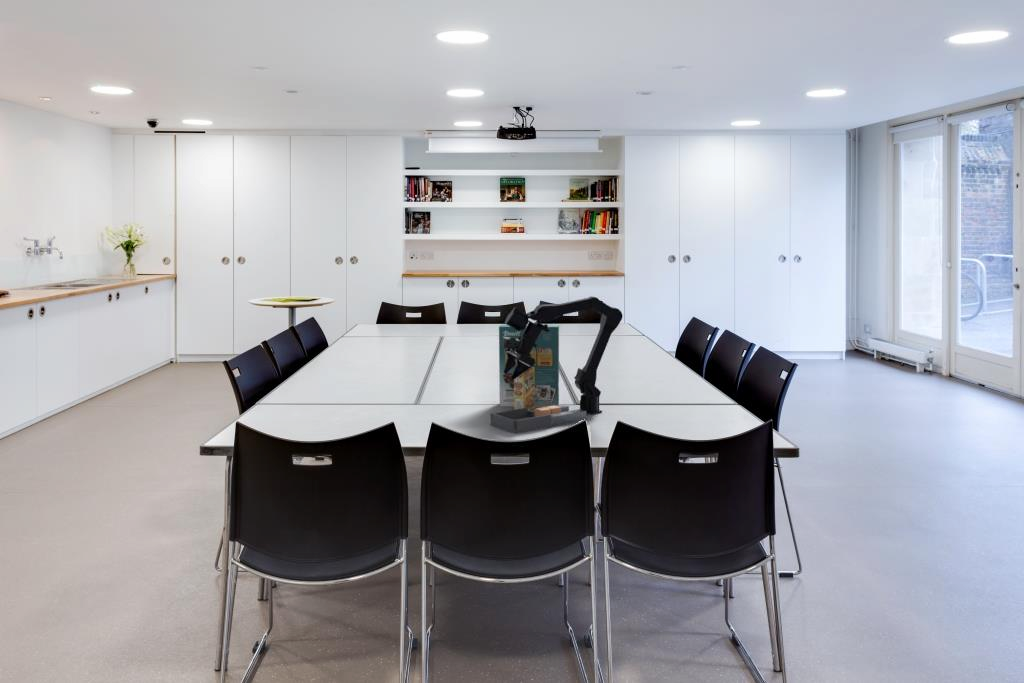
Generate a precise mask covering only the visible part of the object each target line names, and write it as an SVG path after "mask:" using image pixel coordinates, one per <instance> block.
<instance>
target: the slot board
mask: <svg viewBox="0 0 1024 683" xmlns="http://www.w3.org/2000/svg"><path fill="white" fill-rule="evenodd" d="M557 406H558V407H561V413H555V414H550V415H551V427H550V428H553V427H559V426H563V425H569V424H574V423H579V422H578V421H581V420H584V419H585V420H586V421H588V416H587V414H586V411H585V410H581V409H580V408H579V409H574V410H570V406H569V405H566V404H559V405H557ZM535 409H536V408H532V409H529V410H528V417H535ZM581 422H582V421H581Z"/></svg>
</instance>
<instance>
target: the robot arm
mask: <svg viewBox="0 0 1024 683" xmlns="http://www.w3.org/2000/svg"><path fill="white" fill-rule="evenodd" d="M590 309H593V310H594V311H595V312H597V313H598V314H600V316H601V317H600V321H599V324H600V326H599V330H598V333H597V336H596V338H595V341H594V343H593V346H592V348H591V350H590V353H589V356H588V359H587V360H586V363H585V365H584V366H583V367H582V368H577V371H576V374H575V376H574V377H573V378H574V379H575V380H574V384H575V385H574V386H575V387H576V388H577V389H578V390H579V392H580V394H581V395H580V400H579V409H581V410H585V411H586V415H594V414H598V413H599V414H600V413H602V412H603V410H601V409H600V396H601V394H602V391H601V390H600V389H599V388H598V387H597V386H596V382H597V371H598V369H599V368H598V367H599V365H600V363H601V361H602V357H603V356H604V354H605V350H606V348H607V346H608V343H609V341H610V339H611V338H610V337H611V335H612V333H613V332H614V331H616V329H617V328H618V326H619V325H620V324H621V321H622V320H623V312H622V311H621V310H620V309H619V308H616V307H614V306H611V305H608V304H607V303H605V302H603V301H602V300H601V299H599V298H598V297H595V296H592V295H591V296H589V297H586V298H585V297H584V298H582V299H581V298H580V299H577V300H573V301H567V302H563V303H557V304H555V303H554V304H553V303H552V304H551V303H550V304H549V303H547V304H537V306H535V308H534V309H533V310H532V311H529V312H527V313H525V312H523V311H522V310H520V309H519V308H517V307H513V309H512V310H511V311H510V312H509V313H508V315H507V316H506V319H505V321H504V325H508V326H510V327H512V328H514V329H515V330H517V331H520V330H524V329H525V330H524V332H523V334H522V336H521V335H519V336H518V338H512V337H502V342H501V346H503V347H504V348H505V350H506V351H507V352H506V351H505V353H506V356H507V360H506V364H505V368H504V373H505V374H506V373H508V372H509V371H510V370H511V369H512V368H513V367H514V366H515V365H516V366H515V368H514V371H513V373H512V376H511V379H512V380H514V379H515V378H517V377H518V376H519V375H521V374H522V373H523V372H525V371H526V370H528V369H529V368H531V367H530V366H532V367H534V365H535V363H536V362H535V359H534V358H532V357H531V354H530V353H531V351H532V349H533V347H536V346H537V344H536V342H537V340H538V338H539V337H540V335H541V333H542V331H543V330H544V331H546V332H549V330H548V325H549V324H547V323H548V322H551V321H553V320H555V319H557V318H559V317H560V316H563V315H568V314H572V313H578V312H581V311H587V310H590ZM529 319H530V320H532V321H534V322H532V321H530V320H529ZM539 321H540V322H539ZM541 322H542V323H544V324H542V323H541ZM526 326H527V327H526ZM525 327H526V328H525ZM535 340H536V341H535Z"/></svg>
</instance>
